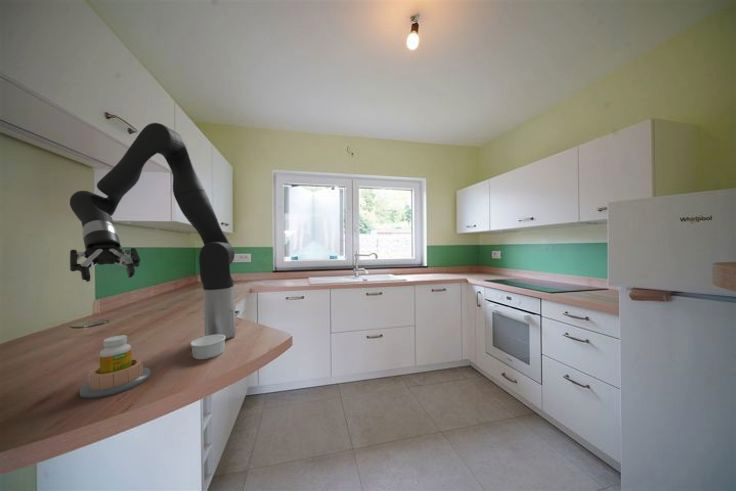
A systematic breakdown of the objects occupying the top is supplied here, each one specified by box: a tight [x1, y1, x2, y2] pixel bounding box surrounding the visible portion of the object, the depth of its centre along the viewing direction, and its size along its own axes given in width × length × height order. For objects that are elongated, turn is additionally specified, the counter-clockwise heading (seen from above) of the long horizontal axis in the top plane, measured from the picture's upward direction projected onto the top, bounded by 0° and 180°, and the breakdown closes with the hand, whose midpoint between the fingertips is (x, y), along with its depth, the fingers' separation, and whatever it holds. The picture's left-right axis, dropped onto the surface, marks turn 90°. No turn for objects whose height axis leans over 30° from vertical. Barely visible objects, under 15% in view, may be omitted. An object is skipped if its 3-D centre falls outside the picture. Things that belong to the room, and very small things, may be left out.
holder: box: [79, 357, 151, 399], centre depth 61 cm, size 12×12×4 cm
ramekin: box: [189, 334, 226, 360], centre depth 77 cm, size 9×9×4 cm
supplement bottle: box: [99, 334, 133, 374], centre depth 61 cm, size 5×5×10 cm
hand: (110, 277), depth 73 cm, fingers open, 8 cm apart
